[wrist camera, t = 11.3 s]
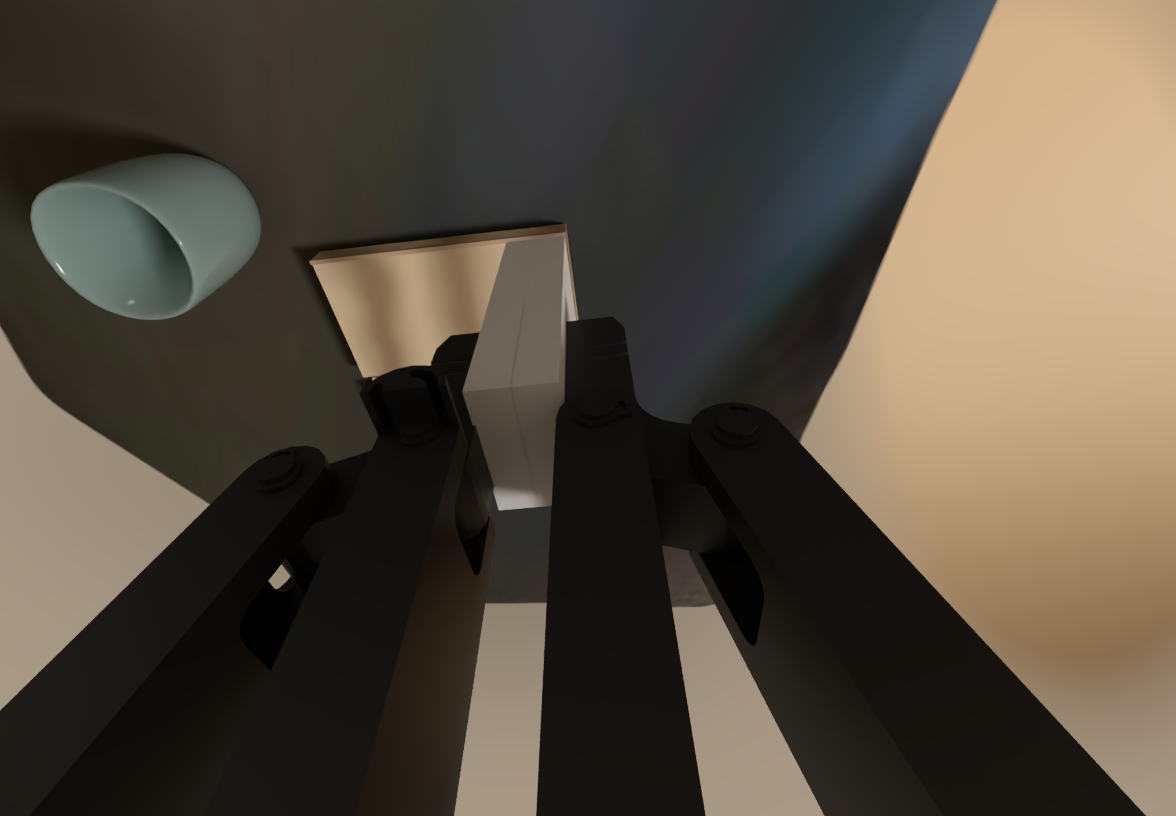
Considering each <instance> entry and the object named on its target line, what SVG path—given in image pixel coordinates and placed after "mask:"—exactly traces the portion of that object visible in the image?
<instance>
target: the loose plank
mask: <svg viewBox="0 0 1176 816" xmlns="http://www.w3.org/2000/svg"><path fill="white" fill-rule="evenodd" d="M557 236H565V242H566V249H567V257H568V264H569V272H570V279H571V287H572V294H573V302H574V309H575V317H576V320H578V313H577V305H576V298H575V290H574V282H573V275H572V267H571V259H570V252H569V244H568V236H567V229H566V224H559V225H550V226H541V227H532V228H523V229H515V230H506V231H497V232H488V233H479V234H471V235H462V236H453V237H444V238H435V239H426V240H418V241H409V242H400V243H391V244H382V245H374V246H365V247H356V248H347V249H338V250H330V251H321V252H319V253H318V254H317V255H316V256H315V257H314V258H313V259H311V260H310V261H309V262H310V264H311V265H313V267H314V270H315V272H316V274H317V276H318V278H319V281H320V283H321V285H322V287H323V289H324V292H325V294H326V296H327V298H328V300H329V303H330V305H331V307H332V309H333V311H334V314H335V316H336V318H337V320H338V322H339V325H340V327H341V329H342V331H343V334H344V336H345V338H346V340H347V342H348V345H349V347H350V349H351V351H352V353H353V356H354V358H355V360H356V362H357V364H358V367H359V369H360V371H361V373H362V375H363V377H372V376H380V375H383V374H385V373H388V372H390V371H392V370H395V369H398V368H403V367H408V366H413V365H428V366H430V365H431V361H432V359H433V356H434V354H435V351H436V349H437V348H438V347H439V346H440V345H441V344H442V343H443V342H444V341H445V340H446V339H448V338H449V337H450V336H451V335H459V334H469V333H478V332H480V330H481V327H482V323H483V320H484V316H485V313H486V310H487V306H488V303H489V300H490V296H491V293H492V289H493V286H494V283H495V279H496V276H497V272H498V269H499V266H500V262H501V259H502V255H503V252H504V249H505V245H506V242H512V241H521V240H530V239H539V238H548V237H557Z"/></svg>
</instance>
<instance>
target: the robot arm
mask: <svg viewBox="0 0 1176 816" xmlns="http://www.w3.org/2000/svg"><path fill="white" fill-rule="evenodd" d="M360 396H361V398H362V400H363V402H364V404H365V407H366V409H367V411H368V413H369V415H370V418H371V420H372V422H373V424H374V426H375V428H376V431H377V433H378V435H379V436H378V438H377V440H376V442H375V444H374V447H373V449H372V450H371V451H368V452H365V453H363V454H360V455H357V456H353V457H350V458H347V459H344V460H341V461H337V462H334V463H331V464H329V463H328V461H327V459H326V457H325V456H324V455H323V453H322V452H321V451H320V450H319V449H317V448H313V447H310V446H297V447H290V448H286V449H283V450H279V451H276V452H273V453H271V454H270V455H268V456H266V457H264V458H262V459H260V460H258V461H257V462H256V463H254V464H253V465H252V466H250V467H249V468H248V469H247V470H245V471H244V472H243V473H242V474H241V475H240V476H239V477H238V478H237V479H236V480H235V481H234V482H233V483H232V484H231V485H230V486H229V487H228V488H227V489H226V490H225V491H224V492H223V493H222V494H221V495H219V496H218V497H217V498H216V499H215V500H214V501H213V502H212V503H211V504H210V505H209V506H208V507H207V508H206V509H205V510H204V511H203V512H202V513H201V514H200V515H199V516H198V517H197V518H196V519H195V520H194V521H193V522H192V523H191V524H190V525H189V526H188V527H187V528H186V529H185V530H184V531H183V532H182V533H181V534H180V535H179V536H178V537H177V538H176V539H175V540H174V541H173V542H172V543H171V544H170V545H169V546H168V547H167V548H166V549H165V550H163V551H162V553H160V554H159V555H158V556H157V557H156V558H155V559H154V560H153V561H152V562H151V563H150V564H149V565H148V566H147V567H146V568H145V569H144V570H143V571H142V572H141V573H140V574H139V575H138V576H137V577H136V578H135V579H134V580H133V581H132V582H131V583H130V584H129V585H128V586H127V587H126V588H125V589H124V590H123V591H122V592H121V593H120V594H119V595H118V596H117V597H116V598H115V599H114V600H112V601H111V602H110V604H108V605H107V606H106V607H105V608H104V610H102V611H101V612H100V613H99V614H98V615H97V616H96V617H95V618H94V619H93V620H92V621H91V622H90V623H89V624H88V625H87V626H86V627H85V628H84V629H83V630H82V631H81V632H80V633H79V634H78V635H77V636H76V637H75V638H74V639H73V640H72V641H71V642H70V643H69V644H68V645H67V646H66V647H65V648H64V649H63V650H62V651H61V652H60V653H58V654H57V655H56V657H54V658H53V660H52V661H50V662H49V663H48V664H47V665H46V666H45V667H44V668H43V669H42V670H41V671H40V672H39V673H38V674H37V675H36V676H35V677H34V678H33V679H32V680H31V681H30V682H29V683H28V684H27V685H26V686H25V687H24V688H23V689H22V690H21V691H20V692H19V693H18V694H17V695H16V696H15V697H14V698H13V699H12V700H11V701H10V702H9V703H8V704H7V705H6V706H4V707H3V708H2V709H1V711H0V816H454V811H455V805H456V798H457V791H458V784H459V778H460V771H461V764H462V757H463V750H464V744H465V736H466V730H467V723H468V716H469V710H470V703H471V696H472V689H473V683H474V676H475V669H476V662H477V655H478V648H479V642H480V634H481V628H482V621H483V614H484V608H485V601H486V594H487V588H488V581H489V574H490V567H491V560H492V554H493V547H494V540H495V526H494V522H493V518H492V515H491V512H490V508H491V502H492V496H493V492H494V495H495V499H496V502H497V505H498V508H499V510H509V509H520V508H531V507H543V506H552V507H551V527H550V548H549V568H548V588H547V609H546V629H545V650H544V671H543V691H542V712H541V731H540V732H541V733H540V752H539V772H538V792H537V813H536V816H705V810H704V804H703V797H702V792H701V785H700V779H699V773H698V766H697V761H696V754H695V748H694V742H693V736H692V729H691V724H690V717H689V711H688V705H687V698H686V692H685V686H684V680H683V674H682V667H681V662H680V655H679V649H678V643H677V637H676V630H675V624H674V619H673V612H672V605H671V599H670V593H669V587H668V581H667V574H666V568H665V562H664V556H663V550H662V545H664V546H669V547H674V548H679V549H684V550H689V553H690V557H691V559H692V561H693V563H694V564H695V566H696V568H697V570H698V572H699V574H700V576H701V578H702V580H703V582H704V584H705V586H706V588H707V590H708V592H709V593H710V595H711V597H712V599H713V601H714V603H715V605H716V607H717V609H718V610H719V613H720V615H721V616H722V619H723V621H724V622H725V624H726V626H727V628H728V630H729V632H730V634H731V636H732V638H733V640H734V642H735V644H736V646H737V647H738V649H739V651H740V653H741V655H742V657H743V659H744V661H745V663H746V665H747V667H748V669H749V670H750V673H751V675H752V676H753V678H754V680H755V682H756V684H757V686H758V688H759V690H760V692H761V694H762V696H763V698H764V700H765V701H766V704H767V706H768V707H769V709H770V711H771V713H772V715H773V717H774V719H775V721H776V723H777V725H778V727H779V729H780V731H781V733H782V735H783V736H784V738H785V740H786V742H787V744H788V746H789V748H790V750H791V752H792V754H793V756H794V758H795V760H796V762H797V764H798V765H799V767H800V769H801V771H802V773H803V775H804V777H805V779H806V781H807V783H808V785H809V786H810V788H811V791H812V792H813V794H814V796H815V798H816V800H817V802H818V804H819V806H820V808H821V809H822V812H823V814H824V815H825V816H1146V815H1145V814H1144V813H1143V812H1142V811H1141V810H1140V809H1139V808H1138V807H1137V806H1136V805H1135V804H1134V803H1133V801H1132V800H1131V799H1130V798H1129V797H1128V796H1127V795H1126V794H1125V793H1124V792H1123V791H1122V790H1121V789H1120V787H1119V786H1118V785H1117V784H1116V783H1115V782H1114V781H1113V780H1112V779H1111V778H1110V777H1109V776H1108V775H1107V774H1106V772H1105V771H1104V770H1103V769H1102V768H1101V767H1100V766H1099V765H1098V764H1097V763H1096V762H1095V760H1094V759H1093V758H1092V757H1091V756H1090V755H1089V754H1088V753H1087V752H1086V751H1085V750H1084V749H1083V748H1082V746H1081V745H1080V744H1078V742H1077V741H1076V740H1075V739H1074V738H1073V737H1072V736H1071V735H1070V734H1069V732H1068V731H1067V730H1066V729H1065V728H1064V727H1063V726H1062V725H1061V724H1060V723H1059V722H1058V721H1057V720H1056V718H1055V717H1054V716H1053V715H1052V714H1051V713H1050V712H1049V711H1048V710H1047V709H1046V708H1045V707H1044V706H1043V704H1042V703H1040V701H1039V700H1038V699H1037V698H1036V697H1035V696H1034V695H1033V694H1032V693H1031V692H1030V690H1029V689H1028V688H1027V687H1026V686H1025V685H1024V684H1023V683H1022V682H1021V681H1020V680H1019V679H1018V678H1017V676H1016V675H1015V674H1014V673H1013V672H1012V671H1011V670H1010V669H1009V668H1008V667H1007V666H1006V665H1005V664H1004V663H1003V661H1002V660H1001V659H1000V658H999V657H998V656H997V655H996V654H995V653H994V652H993V651H992V650H991V649H990V648H989V646H988V645H987V644H986V643H985V642H984V641H983V640H982V639H981V638H980V637H979V636H978V635H977V633H976V632H975V631H974V630H973V629H972V628H971V627H970V626H969V625H968V624H967V623H966V621H965V620H964V619H963V618H962V617H961V616H960V615H959V614H958V613H957V612H956V611H955V610H954V609H953V607H951V605H950V604H949V603H948V602H947V601H946V600H945V599H944V598H943V597H942V596H941V595H940V594H939V592H938V591H937V590H936V589H935V588H934V587H933V586H932V585H931V584H930V583H929V582H928V581H927V580H926V578H925V577H924V576H923V575H922V574H921V573H920V572H919V571H918V570H917V569H916V568H915V567H914V566H913V564H912V563H911V562H910V561H909V560H908V559H907V558H906V557H905V556H904V555H903V554H902V553H901V552H900V550H898V548H897V547H896V546H895V545H894V544H893V543H892V542H891V541H890V540H889V539H888V538H887V536H886V535H885V534H884V533H883V532H882V531H881V530H880V529H879V528H878V527H877V526H876V525H875V523H874V522H873V521H872V520H871V519H870V518H869V517H868V516H867V515H866V514H865V513H864V512H863V511H862V509H861V508H860V507H859V506H858V505H857V504H856V503H855V502H854V501H853V500H852V499H851V498H850V497H849V495H848V494H847V493H846V492H845V491H844V490H843V489H842V488H841V487H840V486H839V485H838V484H837V483H836V481H835V480H833V478H832V477H831V476H830V475H829V474H828V473H827V472H826V471H825V470H824V469H823V467H822V466H821V465H820V464H819V463H818V462H817V461H816V460H815V459H814V458H813V457H812V456H811V454H810V453H809V452H808V451H807V450H806V449H805V448H804V447H803V446H802V445H801V444H800V443H799V442H798V440H797V439H796V438H795V437H794V436H793V435H792V434H791V433H790V432H789V431H788V430H787V429H786V428H785V426H784V425H783V424H782V423H781V422H780V421H779V420H778V419H777V418H775V417H774V416H773V415H771V414H770V413H769V412H767V411H766V410H764V409H761V408H758V407H755V406H753V405H750V404H742V403H733V402H732V403H723V404H715V405H713V406H711V407H708V408H706V409H703V410H701V411H700V412H699V413H698V414H697V415H696V416H695V417H694V418H693V419H692V422H691V424H684V423H676V422H671V421H666V420H662V419H659V418H657V417H654V416H652V415H650V414H649V413H647V412H646V411H644V410H643V409H642V408H641V407H640V405H639V404H638V403H637V400H636V397H635V393H634V386H633V380H632V374H631V368H630V361H629V355H628V349H627V344H626V336H625V330H624V327H623V326H622V325H621V324H620V323H619V322H618V321H617V320H616V319H614V318H613V317H605V318H596V319H586V320H576V317H575V309H574V302H573V294H572V287H571V279H570V272H569V264H568V257H567V249H566V242H565V236H557V237H548V238H539V239H530V240H521V241H512V242H506V245H505V249H504V252H503V255H502V259H501V262H500V266H499V269H498V272H497V276H496V279H495V283H494V286H493V289H492V293H491V296H490V300H489V303H488V306H487V310H486V313H485V316H484V320H483V323H482V327H481V330H480V332H478V333H469V334H459V335H451V336H450V337H449V338H448V339H446V340H445V341H444V342H443V343H442V344H441V345H440V346H439V347H438V348H437V349H436V351H435V354H434V356H433V359H432V361H431V365H430V366H428V365H413V366H408V367H403V368H398V369H395V370H392V371H390V372H388V373H385V374H383V375H380V376H379V377H377V378H376V379H374V380H373V381H371V382H370V383H368V384H367V385H366V387H365V388H364V389H363V390H362V391H361V392H360ZM281 564H282V565H283V567H284V568H285V570H286V571H287V572H288V573H289V575H290V576H291V577H290V578H289V579H288V581H287V582H286V583H284V585H282V586H281V587H280V588H279V589H274V588H273V586H272V585H271V584H270V583H269V581H268V580H269V579H270V578H271V577H272V575H273V574H274V573H275V572H276V570H277V569H278V568H279V566H280V565H281Z"/></svg>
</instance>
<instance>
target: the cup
mask: <svg viewBox="0 0 1176 816" xmlns="http://www.w3.org/2000/svg"><path fill="white" fill-rule="evenodd" d="M30 218H31V224H32V230H33V233H34V235H35V238H36V241H37V243H38V245H39V247H40V249H41V251H42V252H43V254H44V256H45V258H46V259H47V260H48V262H49V263H50V264H51V266H52V267H53V268H54V270H55V271H56V272H57V273H58V274H59V275H60V277H61V278H62V279H63V280H64V281H65V282H66V283H67V284H68V285H69V286H70V287H72V288H73V289H74V290H75V291H76V292H77V293H79V294H80V295H81V296H83V297H84V298H86V299H87V300H89V301H90V302H92V303H93V304H95V305H97V306H99V307H101V308H103V309H105V310H107V311H110V312H113V313H116V314H119V315H122V316H126V317H131V318H136V319H147V320H159V319H168V318H171V317H175V316H179V315H181V314H183V313H185V312H187V311H188V310H190V309H192V308H194V307H195V306H197V305H198V304H200V303H201V302H202V301H204V300H205V299H206V298H208V297H209V296H210V295H211V294H213V293H214V292H215V291H217V290H218V289H219V288H220V287H222V286H223V285H224V284H225V283H227V282H228V281H229V280H230V279H231V278H232V277H233V276H235V275H236V274H237V273H238V272H239V271H240V270H241V269H242V268H243V266H244V265H245V264H246V263H247V262H248V261H249V260H250V259H251V257H252V256H253V255H254V253H255V251H256V249H257V247H258V245H259V242H260V239H261V231H262V225H261V217H260V213H259V210H258V207H257V204H256V202H255V200H254V198H253V196H252V194H251V193H250V191H249V189H248V188H247V187H246V185H245V184H244V183H243V182H242V181H241V179H240V178H239V177H237V176H236V175H235V174H234V173H233V172H232V171H231V170H229V169H227V168H226V167H224V166H223V165H221V164H219V163H217V162H215V161H212V160H210V159H208V158H204V157H200V156H196V155H191V154H183V153H162V154H152V155H144V156H139V157H134V158H130V159H126V160H122V161H118V162H115V163H112V164H108V165H105V166H102V167H99V168H96V169H93V170H90V171H87V172H84V173H81V174H78V175H75V176H72V177H69V178H66V179H63V180H60V181H58V182H55V183H53V184H51V185H50V186H48V187H47V188H45V189H44V190H43V191H41V192H40V193H39V194H38V195H37V196H36V198H35V200H34V201H33V203H32V208H31V215H30Z"/></svg>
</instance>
